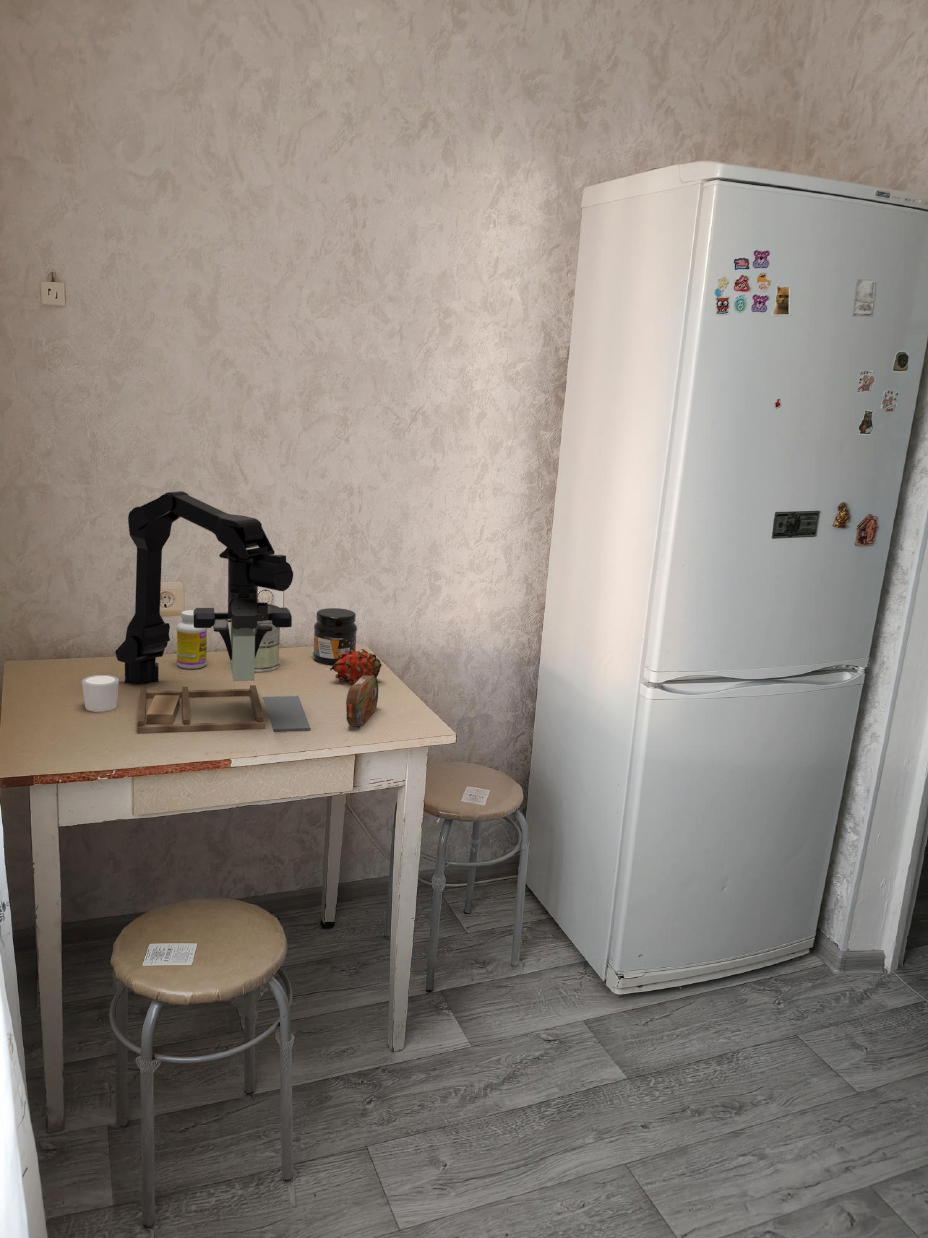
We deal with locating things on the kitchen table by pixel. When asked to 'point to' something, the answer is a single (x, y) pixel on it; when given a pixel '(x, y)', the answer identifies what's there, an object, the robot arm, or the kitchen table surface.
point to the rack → (186, 725)
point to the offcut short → (163, 709)
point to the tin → (362, 700)
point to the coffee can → (268, 649)
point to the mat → (286, 713)
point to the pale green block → (242, 654)
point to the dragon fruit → (356, 665)
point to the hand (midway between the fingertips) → (242, 659)
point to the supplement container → (334, 634)
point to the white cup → (100, 692)
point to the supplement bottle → (191, 643)
